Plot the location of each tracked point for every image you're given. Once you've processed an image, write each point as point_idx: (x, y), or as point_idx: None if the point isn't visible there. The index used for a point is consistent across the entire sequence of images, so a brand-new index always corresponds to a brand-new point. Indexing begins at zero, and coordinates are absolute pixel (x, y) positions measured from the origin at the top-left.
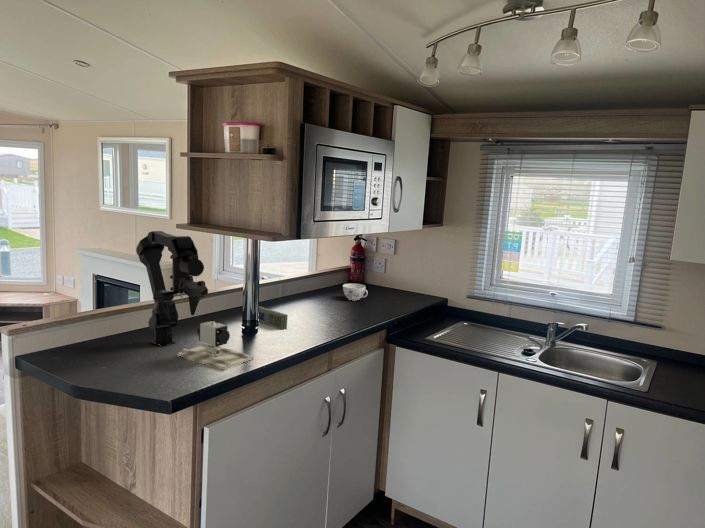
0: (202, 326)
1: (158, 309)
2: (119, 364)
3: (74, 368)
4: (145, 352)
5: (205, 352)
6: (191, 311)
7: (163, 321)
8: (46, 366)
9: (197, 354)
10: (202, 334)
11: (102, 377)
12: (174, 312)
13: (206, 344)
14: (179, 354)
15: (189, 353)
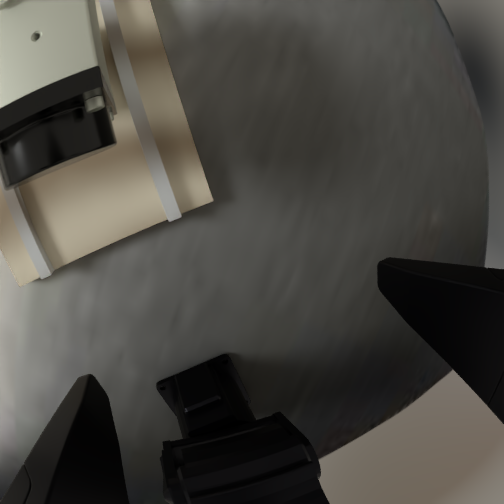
0: (94, 37)
1: (322, 494)
2: (406, 219)
3: (464, 246)
4: (302, 311)
5: None
6: (105, 426)
7: (269, 435)
8: None
9: (141, 100)
10: (103, 62)
11: (455, 140)
12: (211, 494)
13: (35, 241)
14: (207, 187)
15: (162, 159)
